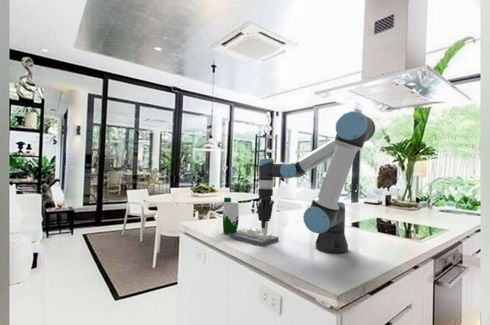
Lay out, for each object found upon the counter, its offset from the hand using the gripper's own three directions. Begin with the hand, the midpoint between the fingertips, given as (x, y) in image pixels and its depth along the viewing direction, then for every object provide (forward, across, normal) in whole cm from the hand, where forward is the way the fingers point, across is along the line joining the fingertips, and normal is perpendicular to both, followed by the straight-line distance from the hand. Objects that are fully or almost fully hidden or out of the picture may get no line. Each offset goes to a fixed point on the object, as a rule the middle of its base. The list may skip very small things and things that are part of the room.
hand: (264, 233), depth 141 cm
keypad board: (+4, 0, -7) cm, 8 cm away
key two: (+3, 0, -7) cm, 7 cm away
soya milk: (+5, -2, -26) cm, 26 cm away
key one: (+4, 0, 0) cm, 4 cm away
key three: (+4, 0, -14) cm, 14 cm away
